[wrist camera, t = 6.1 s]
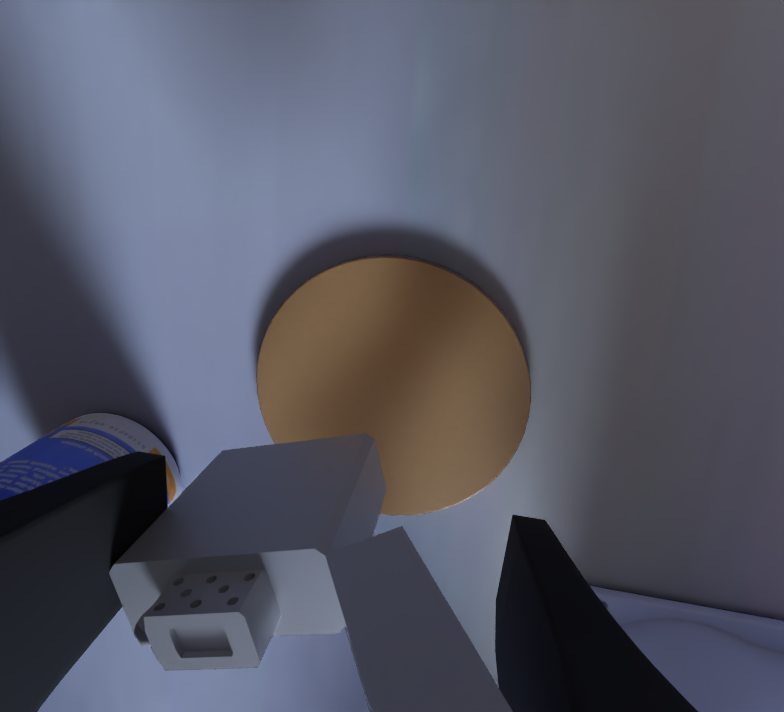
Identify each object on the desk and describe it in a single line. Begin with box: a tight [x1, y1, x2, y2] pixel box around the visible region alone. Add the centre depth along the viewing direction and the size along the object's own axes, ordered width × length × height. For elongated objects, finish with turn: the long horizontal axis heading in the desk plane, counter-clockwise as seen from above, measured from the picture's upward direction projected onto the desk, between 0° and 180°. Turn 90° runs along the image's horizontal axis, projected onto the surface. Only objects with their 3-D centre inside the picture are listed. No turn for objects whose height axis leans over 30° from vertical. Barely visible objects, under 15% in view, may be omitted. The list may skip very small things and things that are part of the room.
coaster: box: [257, 255, 531, 515], centre depth 18 cm, size 9×9×1 cm
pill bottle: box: [0, 413, 182, 507], centre depth 16 cm, size 5×5×10 cm
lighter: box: [109, 433, 513, 712], centre depth 9 cm, size 7×2×8 cm, turn 102°
